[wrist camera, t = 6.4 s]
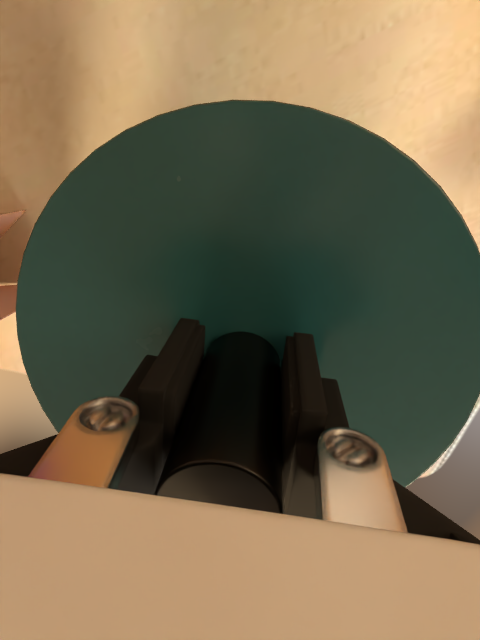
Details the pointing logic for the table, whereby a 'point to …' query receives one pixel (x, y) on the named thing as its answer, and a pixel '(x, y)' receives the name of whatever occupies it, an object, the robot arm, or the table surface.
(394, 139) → the table surface
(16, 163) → the table surface
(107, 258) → the lid
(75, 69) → the table surface
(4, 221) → the greeting card
